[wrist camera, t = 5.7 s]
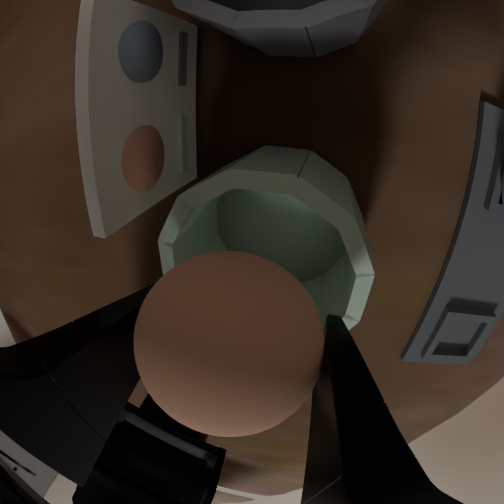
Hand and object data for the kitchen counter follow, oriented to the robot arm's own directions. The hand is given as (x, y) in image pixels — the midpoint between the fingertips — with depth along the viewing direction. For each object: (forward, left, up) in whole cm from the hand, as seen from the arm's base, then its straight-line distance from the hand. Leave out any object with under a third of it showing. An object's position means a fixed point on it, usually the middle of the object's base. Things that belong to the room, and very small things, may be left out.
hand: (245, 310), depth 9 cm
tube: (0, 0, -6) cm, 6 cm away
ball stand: (0, -12, -6) cm, 14 cm away
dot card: (+6, +5, -6) cm, 10 cm away
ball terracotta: (0, 0, -1) cm, 1 cm away
